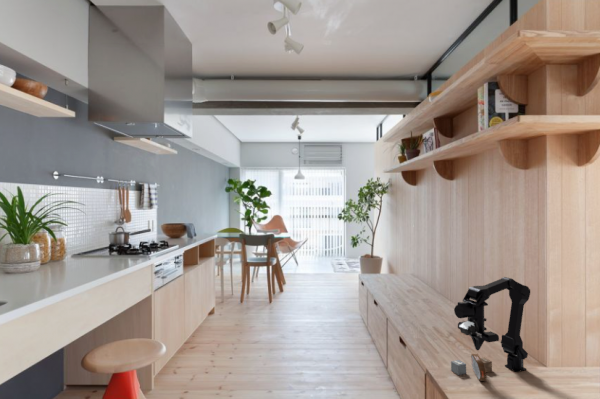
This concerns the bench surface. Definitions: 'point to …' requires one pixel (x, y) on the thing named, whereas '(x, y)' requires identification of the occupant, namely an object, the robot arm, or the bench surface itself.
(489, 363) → the walnut number block
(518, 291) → the robot arm
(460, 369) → the slate number block
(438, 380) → the bench surface
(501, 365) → the bench surface
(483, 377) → the tin
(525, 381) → the bench surface
